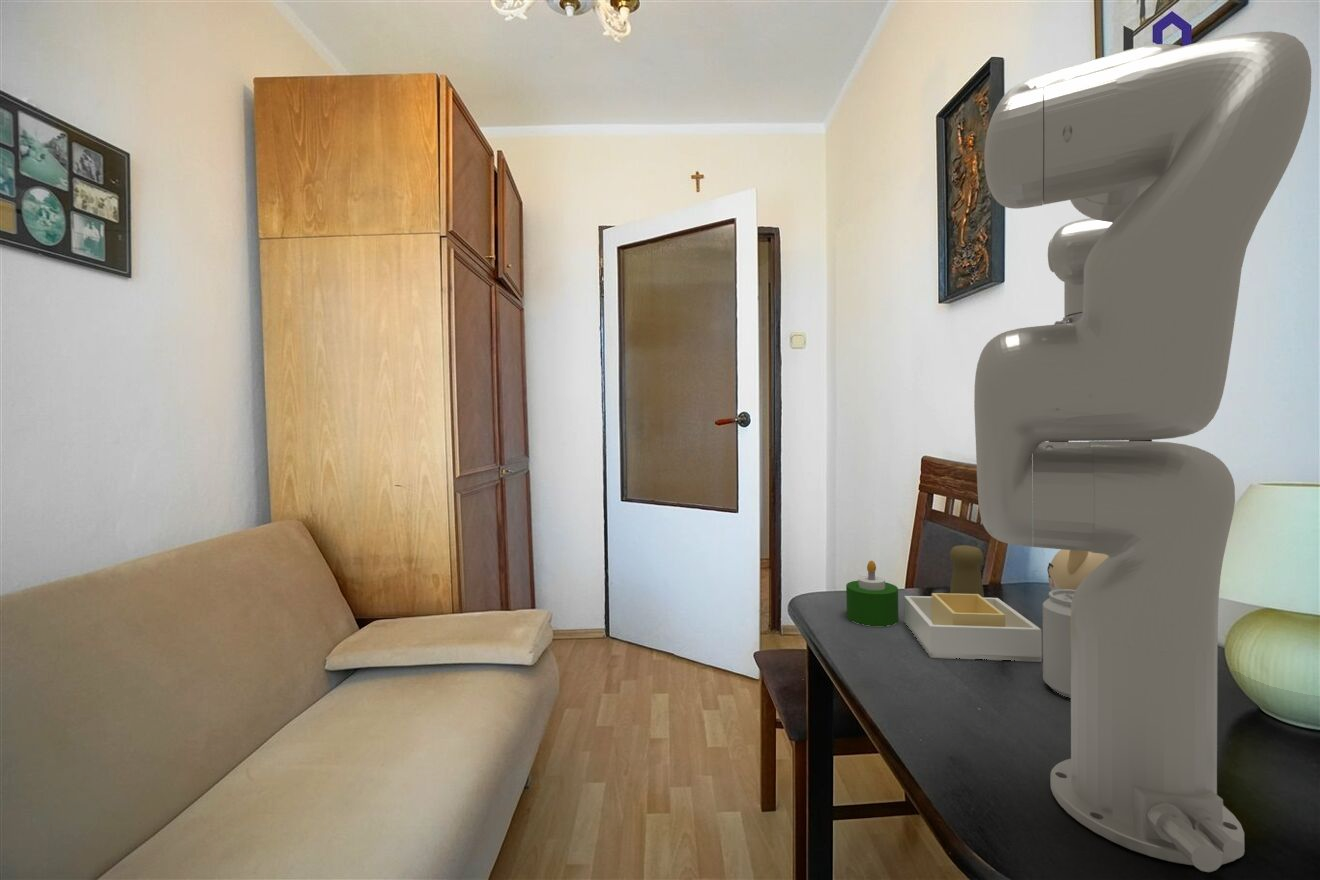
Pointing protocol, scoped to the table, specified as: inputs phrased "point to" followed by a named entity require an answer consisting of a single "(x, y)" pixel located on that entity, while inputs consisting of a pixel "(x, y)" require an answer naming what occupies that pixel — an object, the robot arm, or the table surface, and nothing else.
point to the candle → (872, 600)
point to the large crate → (974, 634)
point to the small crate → (965, 610)
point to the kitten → (1072, 568)
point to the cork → (966, 570)
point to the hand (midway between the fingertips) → (1099, 455)
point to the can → (1057, 641)
